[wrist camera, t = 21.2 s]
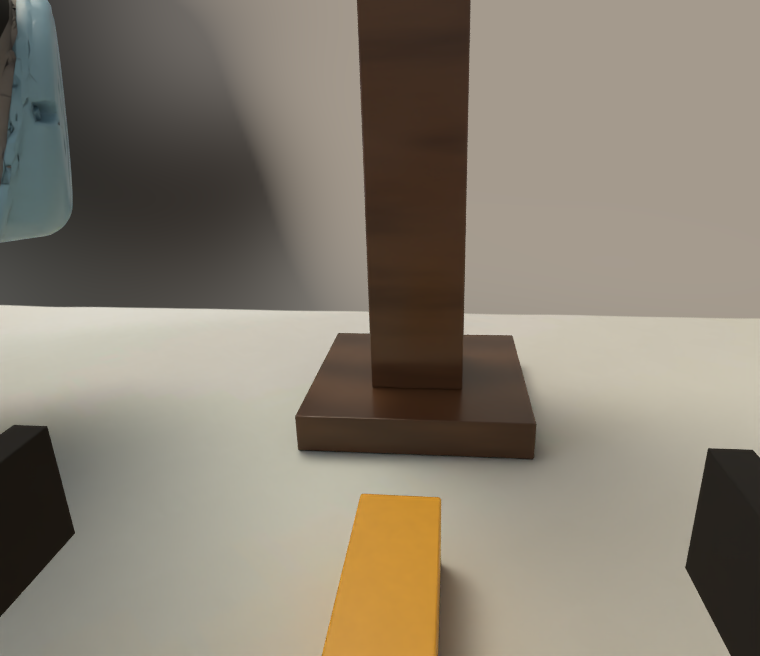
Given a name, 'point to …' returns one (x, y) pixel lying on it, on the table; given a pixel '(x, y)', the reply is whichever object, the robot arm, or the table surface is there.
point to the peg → (389, 580)
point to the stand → (417, 262)
